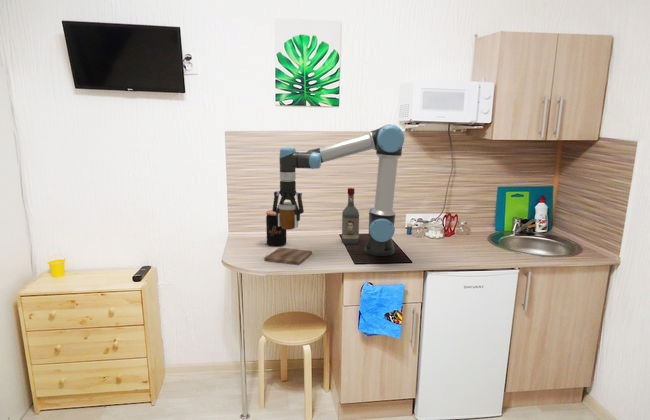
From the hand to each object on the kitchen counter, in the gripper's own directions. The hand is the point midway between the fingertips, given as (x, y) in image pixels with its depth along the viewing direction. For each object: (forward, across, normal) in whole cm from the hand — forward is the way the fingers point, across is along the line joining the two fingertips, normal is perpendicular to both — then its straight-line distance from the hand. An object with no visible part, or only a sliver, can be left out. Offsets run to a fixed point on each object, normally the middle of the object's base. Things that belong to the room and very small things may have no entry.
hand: (288, 226), depth 213 cm
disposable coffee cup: (+1, 0, 0) cm, 1 cm away
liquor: (+16, +22, +36) cm, 45 cm away
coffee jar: (+16, -15, +19) cm, 29 cm away
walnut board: (+16, 0, 0) cm, 16 cm away
